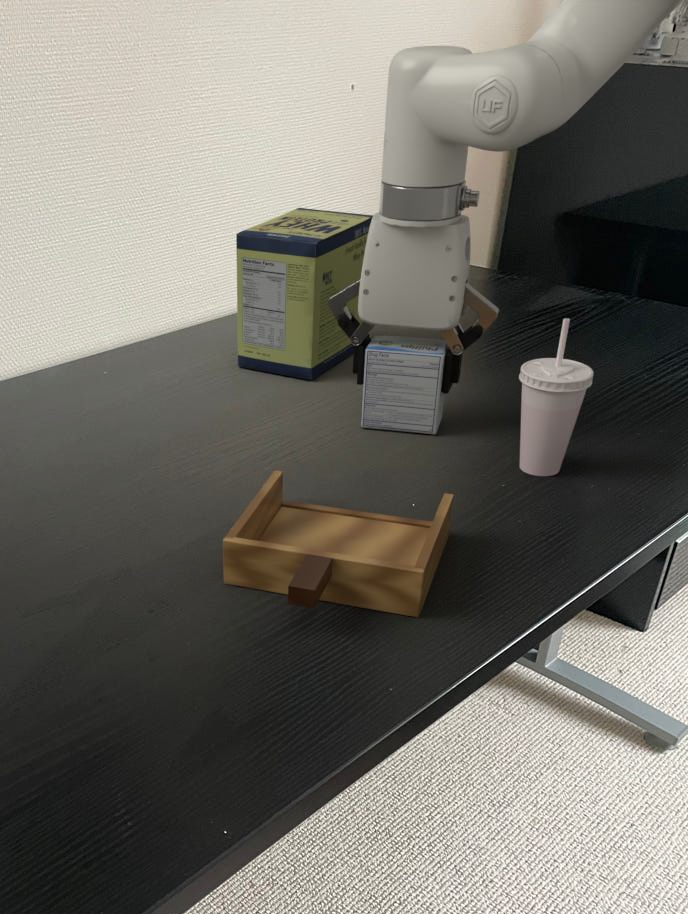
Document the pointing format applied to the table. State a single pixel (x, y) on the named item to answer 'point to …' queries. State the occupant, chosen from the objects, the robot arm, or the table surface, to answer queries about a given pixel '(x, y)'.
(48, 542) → the table surface
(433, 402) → the medicine box
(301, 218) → the protein box
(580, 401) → the smoothie
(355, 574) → the wooden drawer
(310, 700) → the table surface
